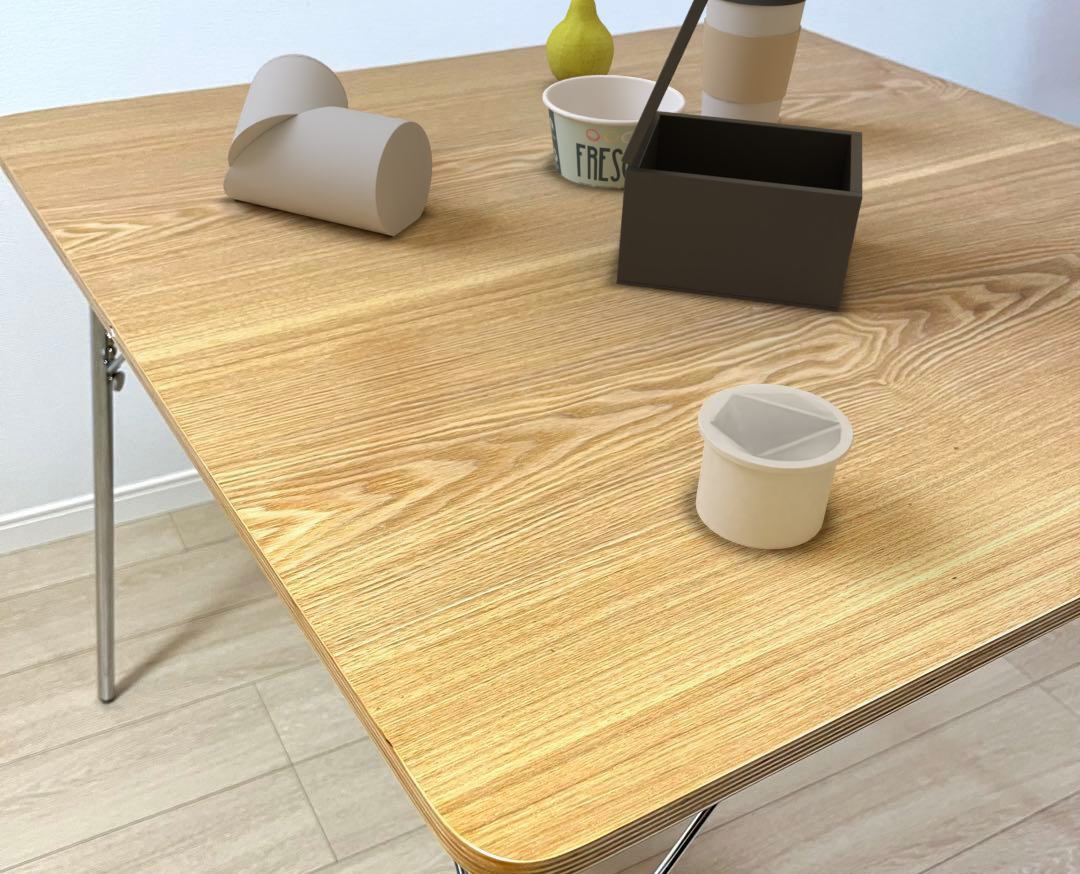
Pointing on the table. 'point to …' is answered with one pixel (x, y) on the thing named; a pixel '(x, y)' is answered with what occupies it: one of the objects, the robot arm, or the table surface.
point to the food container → (599, 124)
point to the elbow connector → (325, 152)
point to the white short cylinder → (768, 463)
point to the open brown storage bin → (741, 210)
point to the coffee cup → (748, 57)
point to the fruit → (580, 43)
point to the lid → (664, 80)
